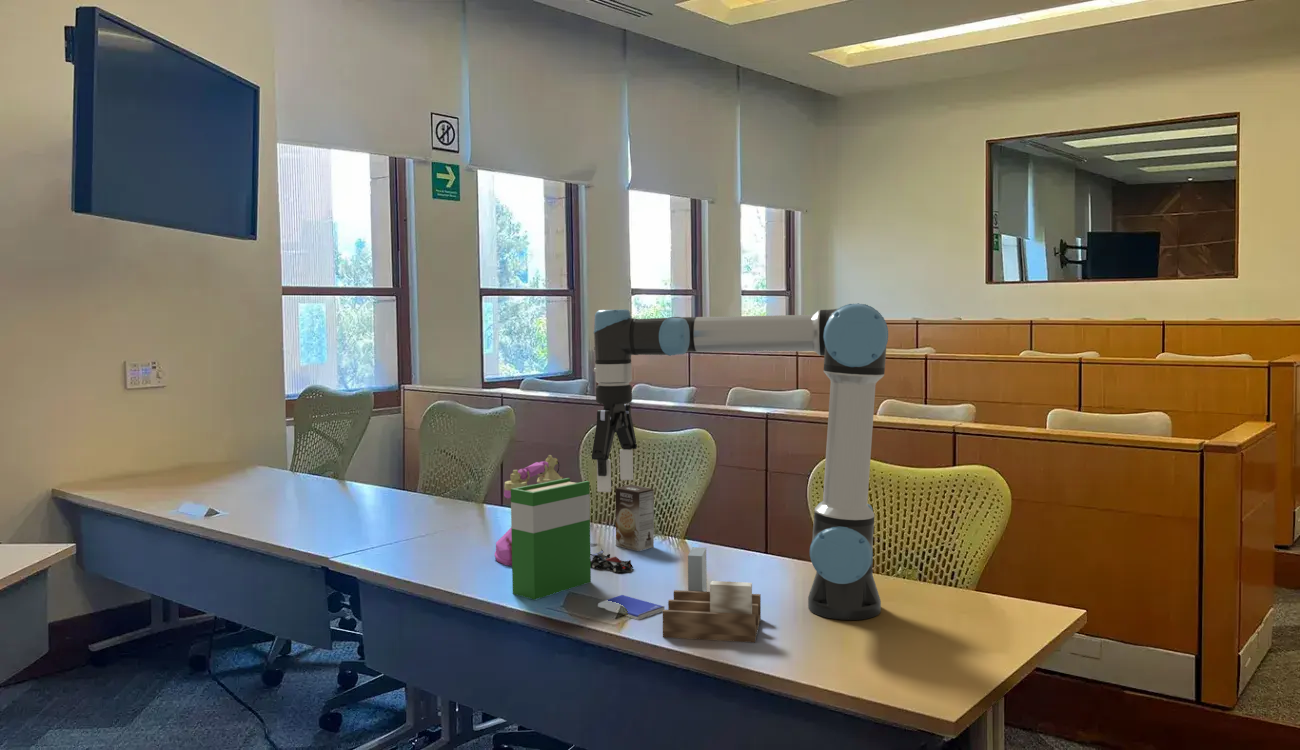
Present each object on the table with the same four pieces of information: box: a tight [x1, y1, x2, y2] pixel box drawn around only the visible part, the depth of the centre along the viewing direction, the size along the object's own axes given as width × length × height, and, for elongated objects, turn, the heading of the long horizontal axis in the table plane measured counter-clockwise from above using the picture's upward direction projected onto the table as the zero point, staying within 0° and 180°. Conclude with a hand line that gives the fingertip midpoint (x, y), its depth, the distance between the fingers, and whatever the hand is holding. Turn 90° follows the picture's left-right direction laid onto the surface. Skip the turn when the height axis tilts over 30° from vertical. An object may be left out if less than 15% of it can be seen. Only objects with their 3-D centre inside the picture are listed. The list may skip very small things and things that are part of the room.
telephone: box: [494, 454, 564, 566], centre depth 250 cm, size 36×22×25 cm, turn 161°
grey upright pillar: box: [687, 546, 708, 592], centre depth 203 cm, size 3×7×12 cm, turn 169°
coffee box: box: [614, 484, 655, 552], centre depth 255 cm, size 9×6×16 cm
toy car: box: [590, 548, 634, 574], centre depth 234 cm, size 6×12×4 cm, turn 54°
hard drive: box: [607, 594, 665, 621], centre depth 203 cm, size 2×8×12 cm
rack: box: [662, 580, 762, 643], centre depth 190 cm, size 18×14×10 cm
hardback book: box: [510, 477, 592, 601], centre depth 218 cm, size 18×7×24 cm, turn 139°
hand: (615, 485), depth 197 cm, fingers open, 13 cm apart
